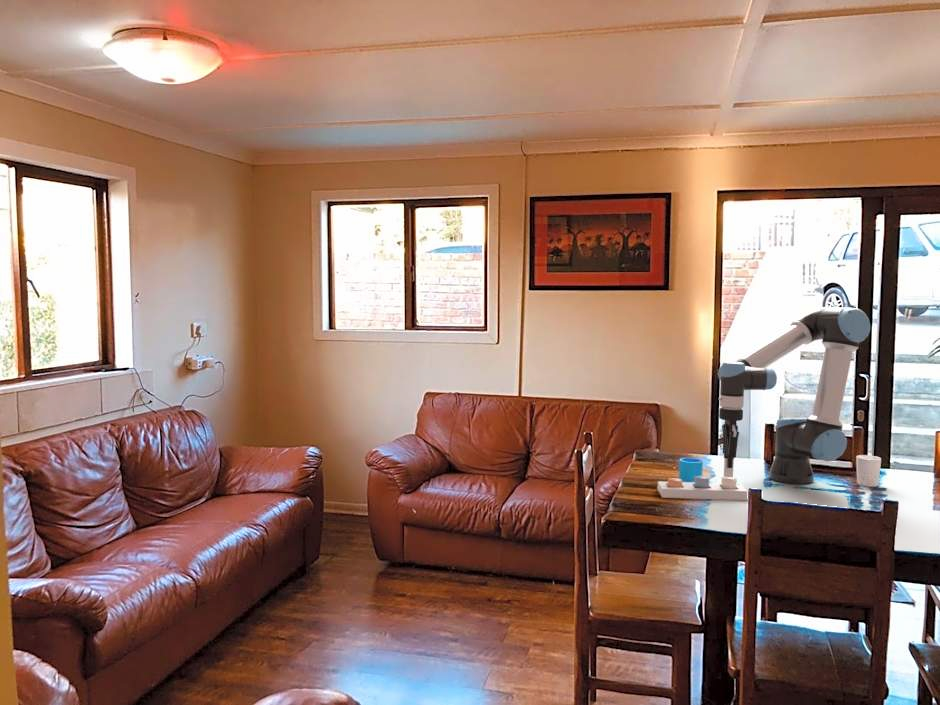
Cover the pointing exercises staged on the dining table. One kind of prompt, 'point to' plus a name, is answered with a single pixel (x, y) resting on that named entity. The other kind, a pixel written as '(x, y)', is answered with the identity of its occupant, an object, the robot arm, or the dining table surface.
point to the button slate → (701, 482)
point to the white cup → (868, 470)
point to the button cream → (728, 483)
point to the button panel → (702, 491)
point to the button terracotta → (675, 482)
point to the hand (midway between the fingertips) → (728, 476)
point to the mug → (690, 469)
